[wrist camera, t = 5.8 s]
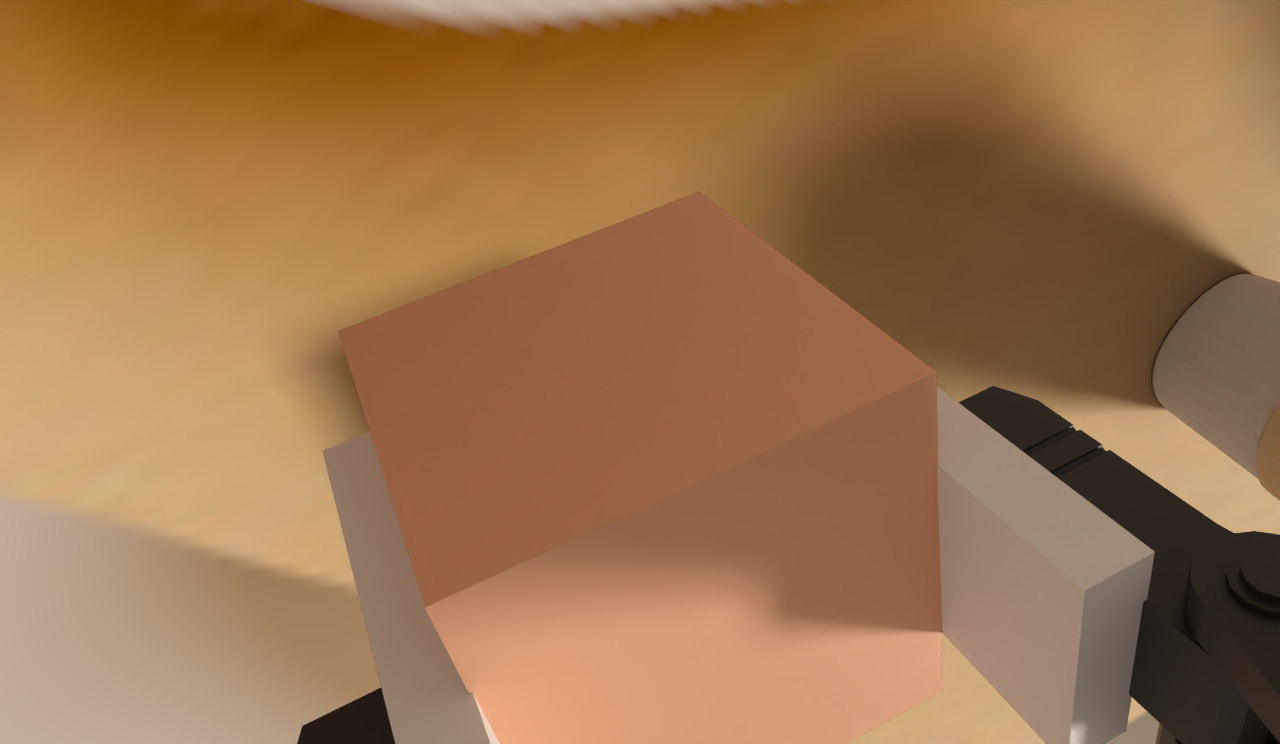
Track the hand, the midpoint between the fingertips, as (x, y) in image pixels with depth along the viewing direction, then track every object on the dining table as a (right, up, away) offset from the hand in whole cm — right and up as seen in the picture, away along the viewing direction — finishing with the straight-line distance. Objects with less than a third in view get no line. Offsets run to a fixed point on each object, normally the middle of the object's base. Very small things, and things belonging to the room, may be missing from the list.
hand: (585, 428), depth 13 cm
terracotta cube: (0, 0, 0) cm, 1 cm away
